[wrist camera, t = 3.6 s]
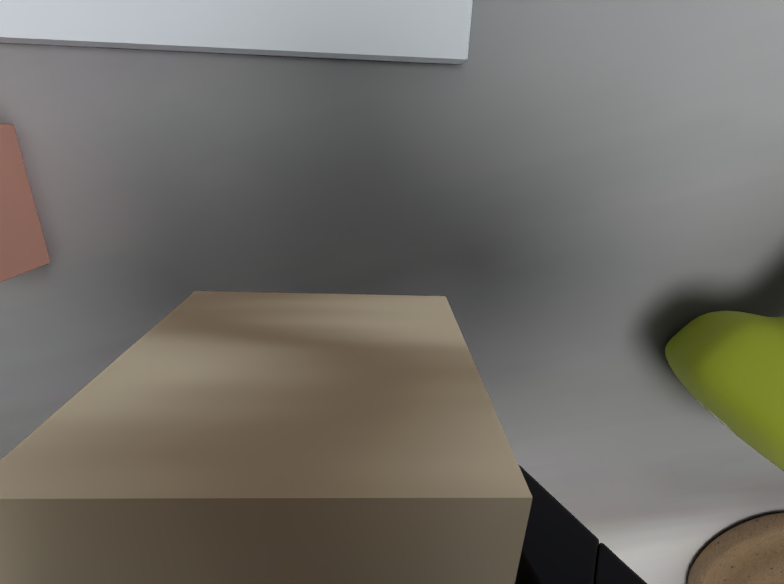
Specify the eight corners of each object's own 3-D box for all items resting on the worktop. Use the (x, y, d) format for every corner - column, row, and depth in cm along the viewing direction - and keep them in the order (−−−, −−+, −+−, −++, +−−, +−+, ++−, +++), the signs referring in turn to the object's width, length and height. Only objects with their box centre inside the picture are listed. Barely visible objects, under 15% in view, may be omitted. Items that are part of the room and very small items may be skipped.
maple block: (222, 484, 10) (87, 793, 5) (195, 290, 8) (-46, 498, 4) (428, 484, 10) (473, 781, 6) (445, 296, 8) (532, 497, 4)
